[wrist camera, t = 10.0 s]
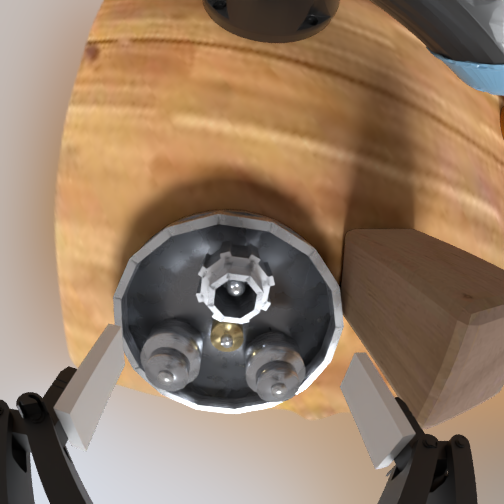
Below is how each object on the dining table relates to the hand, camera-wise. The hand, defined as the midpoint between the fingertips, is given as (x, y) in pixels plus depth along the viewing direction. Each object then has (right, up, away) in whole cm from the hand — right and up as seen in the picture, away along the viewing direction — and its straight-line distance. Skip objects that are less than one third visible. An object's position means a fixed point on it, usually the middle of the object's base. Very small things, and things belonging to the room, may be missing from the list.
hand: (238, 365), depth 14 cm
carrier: (-2, -2, +17) cm, 18 cm away
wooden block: (+16, +4, +17) cm, 23 cm away
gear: (-1, +4, +14) cm, 15 cm away
